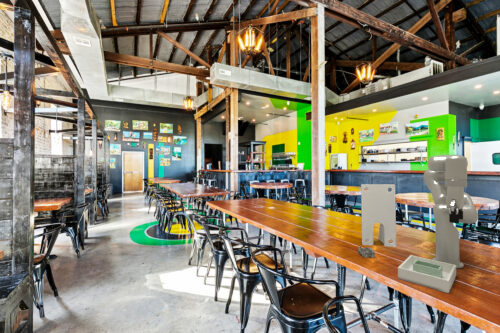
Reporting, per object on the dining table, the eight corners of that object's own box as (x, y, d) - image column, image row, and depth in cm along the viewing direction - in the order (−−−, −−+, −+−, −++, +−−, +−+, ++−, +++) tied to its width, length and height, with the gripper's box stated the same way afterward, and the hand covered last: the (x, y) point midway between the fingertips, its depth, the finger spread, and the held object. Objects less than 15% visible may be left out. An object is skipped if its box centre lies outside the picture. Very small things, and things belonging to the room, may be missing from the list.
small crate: (416, 269, 115) (416, 259, 115) (442, 276, 108) (442, 265, 108) (412, 274, 111) (412, 263, 111) (439, 281, 103) (439, 270, 103)
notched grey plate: (388, 240, 165) (387, 183, 165) (396, 246, 151) (395, 184, 151) (357, 238, 169) (356, 182, 170) (362, 244, 155) (361, 184, 156)
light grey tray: (410, 264, 123) (410, 255, 123) (456, 275, 110) (456, 265, 110) (398, 278, 108) (397, 267, 108) (448, 293, 95) (448, 280, 95)
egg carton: (356, 251, 144) (356, 244, 144) (370, 252, 143) (369, 245, 143) (362, 257, 134) (362, 250, 134) (376, 258, 132) (376, 251, 132)
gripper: (449, 181, 115) (449, 216, 115) (440, 184, 104) (441, 222, 104) (470, 182, 109) (470, 219, 110) (463, 185, 98) (463, 226, 99)
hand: (456, 220), depth 107 cm, fingers open, 9 cm apart
